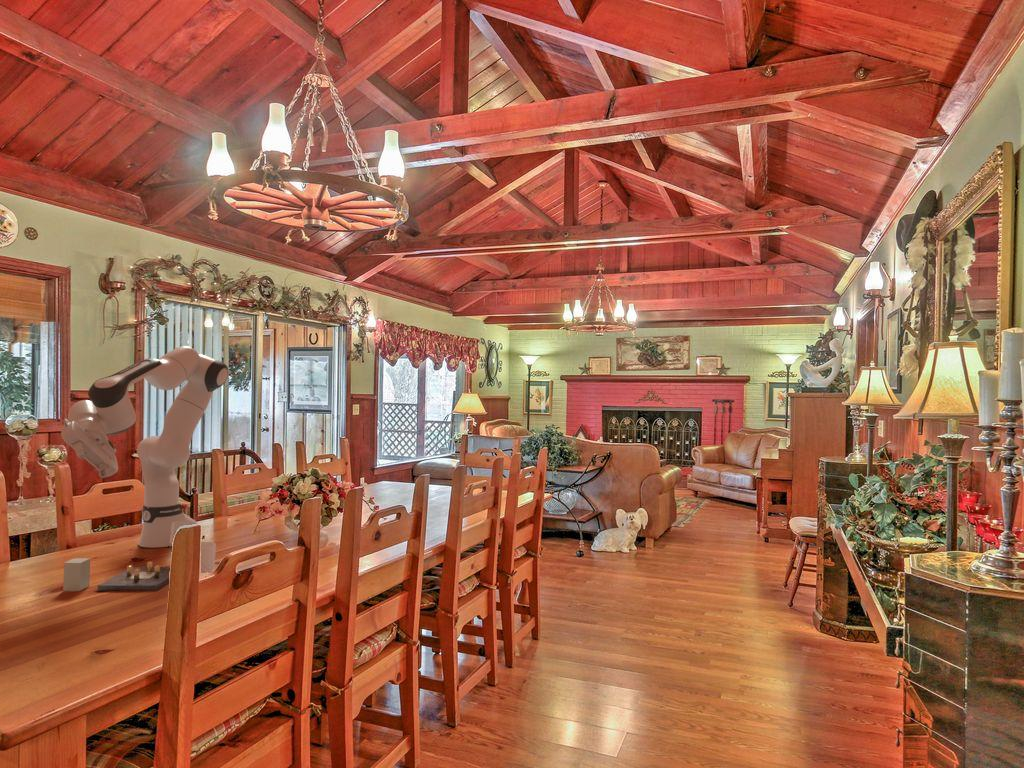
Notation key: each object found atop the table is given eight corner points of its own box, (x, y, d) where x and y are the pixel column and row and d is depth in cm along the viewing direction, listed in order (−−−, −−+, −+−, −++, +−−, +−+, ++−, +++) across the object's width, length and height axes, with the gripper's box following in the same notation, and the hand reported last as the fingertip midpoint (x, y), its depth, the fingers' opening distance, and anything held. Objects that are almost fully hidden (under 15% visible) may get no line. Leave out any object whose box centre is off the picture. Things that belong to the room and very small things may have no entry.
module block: (73, 586, 181) (73, 558, 181) (89, 586, 181) (90, 558, 181) (63, 591, 176) (64, 562, 176) (80, 591, 177) (80, 562, 177)
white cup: (220, 574, 195) (221, 542, 195) (205, 582, 187) (206, 548, 187) (196, 573, 196) (197, 541, 196) (180, 580, 188) (181, 547, 188)
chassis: (130, 571, 195) (131, 557, 195) (184, 571, 197) (184, 557, 197) (97, 590, 177) (98, 574, 177) (156, 590, 179) (157, 574, 179)
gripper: (74, 410, 183) (79, 438, 174) (119, 452, 197) (125, 479, 188) (52, 421, 181) (56, 450, 172) (99, 463, 196) (104, 491, 187)
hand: (92, 466), depth 180 cm, fingers open, 8 cm apart
